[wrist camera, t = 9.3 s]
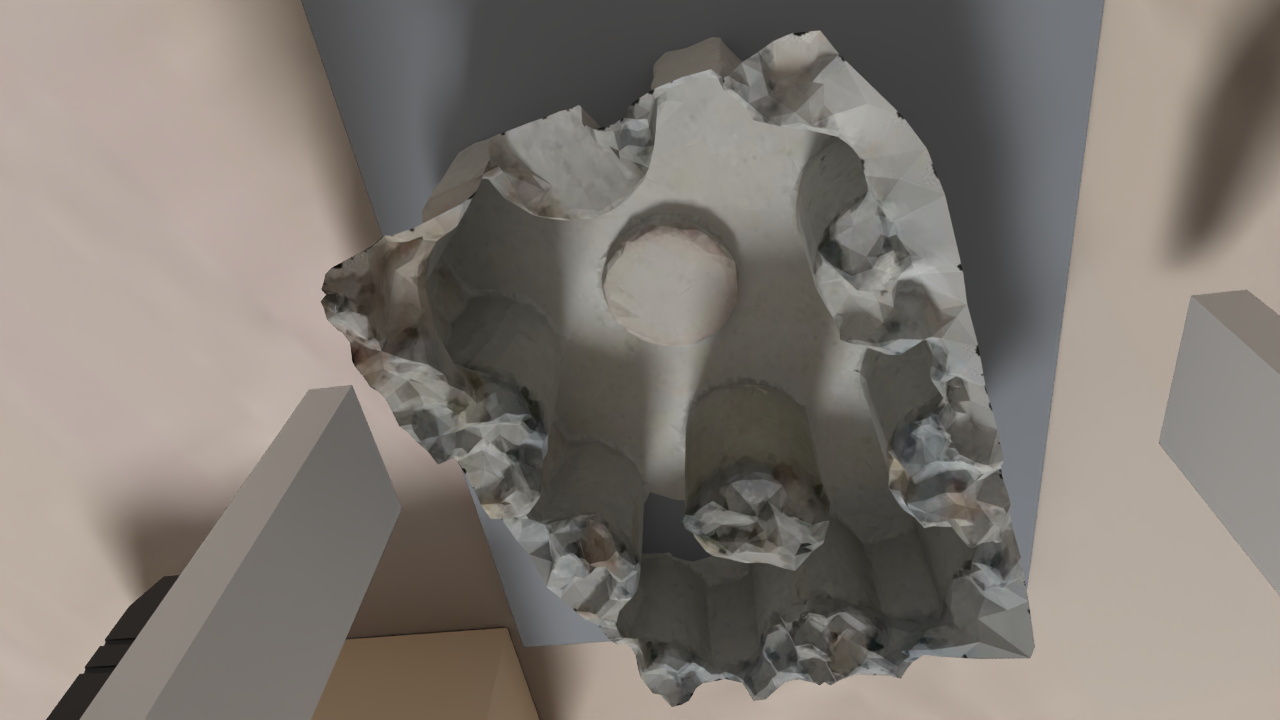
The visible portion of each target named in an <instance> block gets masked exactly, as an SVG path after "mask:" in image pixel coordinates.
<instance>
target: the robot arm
mask: <svg viewBox="0 0 1280 720" xmlns="http://www.w3.org/2000/svg"><path fill="white" fill-rule="evenodd" d="M1159 444H1160V445H1161V447H1162V448H1163V449H1164V450H1165V452H1166V453H1167V454H1168V455H1169V457H1170V458H1171V459H1172V461H1173V462H1174V463H1175V464H1176V466H1177V467H1178V468H1179V469H1180V471H1181V472H1182V473H1183V474H1184V476H1185V477H1186V478H1187V480H1188V481H1189V482H1190V483H1191V485H1192V486H1193V487H1194V488H1195V490H1196V491H1197V492H1198V493H1199V495H1200V496H1201V497H1202V499H1203V500H1204V501H1205V502H1206V504H1207V505H1208V506H1209V507H1210V509H1211V510H1212V511H1213V512H1214V514H1215V515H1216V516H1217V518H1218V519H1219V520H1220V521H1221V523H1222V524H1223V525H1224V526H1225V528H1226V529H1227V530H1228V531H1229V533H1230V534H1231V535H1232V537H1233V538H1234V539H1235V540H1236V542H1237V543H1238V544H1239V545H1240V547H1241V548H1242V549H1243V550H1244V552H1245V553H1246V554H1247V555H1248V557H1249V558H1250V559H1251V561H1252V562H1253V563H1254V564H1255V566H1256V567H1257V568H1258V569H1259V571H1260V572H1261V573H1262V574H1263V576H1264V577H1265V578H1266V580H1267V581H1268V582H1269V583H1270V585H1271V586H1272V587H1273V588H1274V590H1275V591H1276V592H1277V593H1278V595H1279V596H1280V316H1279V315H1278V314H1277V313H1276V312H1274V311H1273V310H1272V309H1271V308H1269V307H1268V306H1267V305H1266V304H1264V303H1263V302H1262V301H1261V300H1259V299H1258V298H1257V297H1255V296H1254V295H1253V294H1252V293H1250V292H1249V291H1248V290H1240V291H1230V292H1221V293H1212V294H1202V295H1193V296H1191V298H1190V303H1189V308H1188V312H1187V317H1186V321H1185V326H1184V330H1183V335H1182V339H1181V344H1180V349H1179V353H1178V358H1177V362H1176V367H1175V371H1174V376H1173V380H1172V385H1171V389H1170V394H1169V399H1168V403H1167V408H1166V412H1165V417H1164V421H1163V426H1162V430H1161V435H1160V440H1159ZM401 510H402V507H401V505H400V503H399V500H398V498H397V495H396V493H395V490H394V488H393V485H392V483H391V480H390V478H389V475H388V473H387V470H386V468H385V465H384V463H383V460H382V458H381V456H380V453H379V451H378V448H377V446H376V443H375V441H374V438H373V436H372V433H371V431H370V428H369V426H368V423H367V421H366V418H365V416H364V413H363V411H362V409H361V406H360V404H359V401H358V399H357V396H356V394H355V391H354V389H353V386H352V385H348V386H339V387H329V388H320V389H311V390H308V392H307V393H306V395H305V396H304V398H303V399H302V401H301V402H300V403H299V405H298V406H297V408H296V409H295V411H294V412H293V413H292V415H291V416H290V418H289V419H288V421H287V422H286V424H285V425H284V426H283V428H282V429H281V431H280V432H279V434H278V435H277V436H276V438H275V439H274V441H273V442H272V444H271V445H270V447H269V448H268V449H267V451H266V452H265V454H264V455H263V457H262V458H261V459H260V461H259V462H258V464H257V465H256V467H255V468H254V470H253V471H252V472H251V474H250V475H249V477H248V478H247V480H246V481H245V482H244V484H243V485H242V487H241V488H240V490H239V491H238V493H237V494H236V495H235V497H234V498H233V500H232V501H231V503H230V504H229V505H228V507H227V508H226V510H225V511H224V513H223V514H222V516H221V517H220V518H219V520H218V521H217V523H216V524H215V526H214V527H213V528H212V530H211V531H210V533H209V534H208V536H207V537H206V539H205V540H204V541H203V543H202V544H201V546H200V547H199V549H198V550H197V551H196V553H195V554H194V556H193V557H192V559H191V560H190V562H189V563H188V564H187V566H186V567H185V569H184V570H183V572H182V573H181V574H180V575H178V576H165V577H163V578H162V579H160V580H159V581H158V582H157V583H156V584H155V585H154V586H152V587H151V588H150V589H149V590H148V591H147V592H145V593H144V594H143V595H142V596H141V597H140V598H138V599H137V600H136V601H135V602H134V603H133V604H132V605H130V606H129V607H128V609H127V610H126V612H125V613H124V614H123V616H122V617H121V618H120V620H119V621H118V622H117V624H116V625H115V627H114V628H113V629H112V631H111V632H110V633H109V635H108V636H107V637H106V639H105V641H106V642H105V645H104V646H100V647H99V648H98V650H97V651H96V652H95V654H94V655H93V657H92V658H91V659H90V661H89V662H88V663H87V665H86V666H85V673H84V674H79V676H78V677H77V678H76V680H75V681H74V682H73V684H72V685H71V687H70V688H69V689H68V691H67V692H66V693H65V695H64V696H63V697H62V699H61V700H60V702H59V703H58V704H57V706H56V707H55V708H54V710H53V711H52V712H51V714H50V715H49V716H48V718H47V719H46V720H311V719H312V716H313V714H314V712H315V709H316V707H317V705H318V702H319V700H320V698H321V695H322V693H323V691H324V688H325V686H326V684H327V681H328V679H329V677H330V674H331V672H332V670H333V667H334V665H335V663H336V661H337V658H338V656H339V654H340V651H341V649H342V647H343V644H344V642H345V640H346V637H347V635H348V633H349V630H350V628H351V626H352V623H353V621H354V619H355V616H356V614H357V612H358V609H359V607H360V605H361V602H362V600H363V598H364V596H365V593H366V591H367V589H368V586H369V584H370V582H371V579H372V577H373V575H374V572H375V570H376V568H377V565H378V563H379V561H380V558H381V556H382V554H383V551H384V549H385V547H386V544H387V542H388V540H389V537H390V535H391V533H392V530H393V528H394V526H395V524H396V521H397V519H398V517H399V514H400V512H401Z"/></svg>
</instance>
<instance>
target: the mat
mask: <svg viewBox="0 0 1280 720" xmlns="http://www.w3.org/2000/svg"><path fill="white" fill-rule="evenodd" d="M301 1H302V4H303V7H304V10H305V13H306V16H307V19H308V22H309V25H310V28H311V30H312V33H313V36H314V39H315V42H316V45H317V48H318V51H319V54H320V57H321V60H322V62H323V65H324V68H325V71H326V74H327V77H328V80H329V83H330V86H331V89H332V92H333V94H334V97H335V100H336V103H337V106H338V109H339V112H340V115H341V118H342V121H343V124H344V126H345V129H346V132H347V135H348V138H349V141H350V144H351V147H352V150H353V153H354V156H355V158H356V161H357V164H358V167H359V170H360V173H361V176H362V179H363V182H364V185H365V188H366V190H367V193H368V196H369V199H370V202H371V205H372V208H373V211H374V214H375V217H376V220H377V222H378V225H379V228H380V231H381V234H382V237H384V236H393V235H395V234H398V233H401V232H404V231H406V230H409V229H412V228H415V227H417V226H419V225H421V224H423V220H422V211H423V209H424V207H425V205H426V203H427V201H428V199H429V198H430V197H431V194H432V191H433V190H434V188H435V187H436V186H437V184H438V183H439V182H440V181H441V179H442V178H443V177H444V175H445V173H446V172H447V170H448V169H449V167H450V165H451V164H452V162H453V161H454V159H455V158H456V156H457V155H458V153H459V152H461V151H463V150H464V149H466V148H467V147H469V146H471V145H472V144H474V143H476V142H480V141H483V140H487V139H489V138H491V137H493V136H495V135H497V134H502V133H504V132H507V131H509V130H512V129H514V128H517V127H519V126H522V125H525V124H527V123H530V122H532V121H535V120H538V119H541V118H544V117H547V116H550V115H552V114H554V113H557V112H559V111H563V110H568V109H572V108H574V107H576V106H578V105H580V106H581V107H582V108H583V109H584V110H585V111H586V112H587V113H588V114H589V115H590V116H591V117H592V118H593V119H594V120H595V121H596V122H597V123H598V124H599V125H600V126H601V127H606V126H609V125H613V124H615V123H617V122H618V121H619V120H621V119H622V118H623V117H624V115H625V113H626V111H627V109H628V107H629V106H630V105H631V104H632V103H633V102H634V101H636V100H637V99H639V98H640V97H642V96H644V95H645V94H647V93H648V92H650V91H651V84H652V81H653V79H654V77H653V65H654V64H655V63H656V61H657V60H658V59H659V58H660V57H661V56H662V55H663V54H664V53H665V52H668V51H673V50H679V49H684V48H687V47H690V46H692V45H694V44H697V43H699V42H701V41H704V40H706V39H708V38H710V37H720V38H721V39H722V41H723V42H724V43H725V45H726V46H727V47H728V48H729V49H730V50H731V51H732V52H733V53H734V54H735V55H736V56H737V57H738V58H739V59H740V60H741V61H742V62H743V61H745V60H747V59H748V58H750V57H751V56H753V55H754V54H756V53H758V52H759V51H760V50H762V49H763V48H764V47H766V46H767V45H769V44H770V43H771V42H773V41H775V40H777V39H779V38H782V37H784V36H786V35H789V34H791V33H797V32H809V31H821V32H822V33H823V35H824V36H825V37H826V38H827V40H828V41H829V42H830V43H831V45H832V46H833V47H834V48H835V50H836V51H837V52H838V53H839V55H840V56H841V57H842V58H843V59H844V60H846V61H847V62H848V63H849V64H850V65H851V66H852V67H853V68H854V69H855V70H856V71H857V72H858V73H859V74H860V75H861V76H862V77H863V78H864V79H865V80H866V81H867V82H868V83H869V84H870V85H871V86H872V87H873V88H874V89H875V90H876V91H877V92H878V93H879V94H880V95H881V96H882V97H883V98H884V99H885V100H886V101H888V102H889V103H890V104H891V105H892V106H893V107H894V108H895V109H896V110H897V111H898V112H899V113H900V114H901V115H902V116H903V117H904V119H905V120H906V121H907V123H908V124H909V125H910V127H911V128H912V129H913V131H914V132H915V133H916V135H917V136H918V137H919V139H920V140H921V141H922V143H923V144H924V145H925V147H926V148H927V150H928V153H929V155H930V158H931V160H932V163H933V165H934V168H935V170H936V173H937V176H938V178H939V181H940V183H941V186H942V188H943V191H944V193H945V197H946V201H947V205H948V209H949V214H950V218H951V222H952V227H953V231H954V235H955V240H956V244H957V248H958V253H959V257H960V261H961V265H962V270H963V276H964V284H965V291H966V299H967V305H968V309H969V313H970V316H971V320H972V324H973V328H974V331H975V335H976V339H977V343H978V347H979V352H980V358H981V363H982V369H983V375H984V380H985V386H986V390H987V393H988V397H989V400H990V404H991V407H992V411H993V414H994V418H995V422H996V426H997V430H998V435H999V440H1000V445H1001V449H1002V454H1003V459H1004V462H1003V464H1002V465H1001V471H1002V477H1003V480H1004V483H1005V486H1006V489H1007V492H1008V495H1009V498H1010V503H1011V506H1010V508H1009V512H1010V517H1011V522H1012V526H1013V531H1014V535H1015V538H1016V542H1017V545H1018V549H1019V552H1020V556H1021V560H1022V566H1023V572H1024V578H1025V584H1026V590H1027V585H1028V578H1029V570H1030V563H1031V555H1032V547H1033V540H1034V532H1035V525H1036V517H1037V509H1038V502H1039V494H1040V487H1041V479H1042V471H1043V464H1044V456H1045V448H1046V441H1047V433H1048V426H1049V418H1050V410H1051V403H1052V395H1053V388H1054V380H1055V372H1056V365H1057V357H1058V349H1059V342H1060V334H1061V327H1062V319H1063V311H1064V304H1065V296H1066V289H1067V281H1068V273H1069V266H1070V258H1071V250H1072V243H1073V235H1074V228H1075V220H1076V212H1077V205H1078V197H1079V190H1080V182H1081V174H1082V167H1083V159H1084V152H1085V144H1086V136H1087V129H1088V121H1089V113H1090V106H1091V98H1092V91H1093V83H1094V75H1095V68H1096V60H1097V53H1098V45H1099V37H1100V30H1101V22H1102V14H1103V7H1104V0H301ZM832 137H835V136H832V135H831V138H832ZM463 473H464V472H463ZM464 476H465V478H466V481H467V484H468V487H469V490H470V493H471V496H472V499H473V502H474V505H475V508H476V510H477V513H478V516H479V519H480V522H481V525H482V528H483V531H484V534H485V537H486V540H487V542H488V545H489V548H490V551H491V554H492V557H493V560H494V563H495V566H496V569H497V572H498V574H499V577H500V580H501V583H502V586H503V589H504V592H505V595H506V598H507V601H508V604H509V606H510V609H511V612H512V615H513V618H514V621H515V624H516V627H517V630H518V633H519V636H520V638H521V641H522V644H523V647H536V646H550V645H564V644H579V643H593V642H607V641H611V640H609V639H608V638H607V636H606V635H605V634H604V632H603V631H602V630H601V628H600V627H599V626H598V625H596V624H594V623H592V622H589V621H587V620H586V619H584V618H583V617H582V616H581V615H579V614H578V613H577V612H576V611H574V610H573V609H572V608H571V607H570V606H569V605H568V604H567V603H565V602H564V601H563V600H562V599H561V598H560V597H558V596H557V595H556V594H555V593H553V592H552V591H551V590H550V589H548V588H547V587H546V585H545V583H544V582H543V580H542V578H541V576H540V574H539V572H538V570H537V569H536V567H535V565H534V563H533V561H532V559H531V557H530V556H529V554H528V553H527V552H526V551H525V549H524V548H523V547H522V546H521V545H520V544H519V543H518V542H517V540H516V539H515V537H514V536H513V535H512V533H511V532H510V530H509V529H508V528H507V526H506V525H505V523H504V522H503V521H502V519H490V517H489V516H488V514H487V513H486V512H485V510H484V509H483V507H482V506H481V504H480V502H479V499H478V497H477V495H476V493H475V491H474V489H473V487H472V485H471V484H470V482H469V480H468V479H467V477H466V475H465V473H464ZM684 513H685V500H675V499H671V498H669V497H665V496H662V495H658V494H655V493H652V492H650V493H649V495H648V498H647V500H646V502H645V503H644V513H643V537H642V553H645V554H650V553H670V554H671V555H672V556H673V557H676V558H679V559H683V560H687V561H692V562H694V561H697V560H701V559H704V558H707V557H711V556H713V555H711V554H709V553H708V552H706V551H705V549H704V548H703V547H702V546H701V544H700V543H699V542H698V541H697V540H696V538H695V536H694V534H693V533H692V532H690V531H688V530H687V529H685V526H684V522H681V521H682V520H683V518H684Z"/></svg>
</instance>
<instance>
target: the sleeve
mask: <svg viewBox="0 0 1280 720" xmlns="http://www.w3.org/2000/svg"><path fill="white" fill-rule="evenodd" d="M311 720H539V717H538V714H537V711H536V708H535V705H534V703H533V700H532V697H531V694H530V691H529V688H528V686H527V683H526V680H525V677H524V674H523V671H522V669H521V666H520V663H519V660H518V657H517V654H516V652H515V649H514V646H513V643H512V640H511V637H510V635H509V632H508V629H507V628H497V629H483V630H469V631H456V632H442V633H428V634H415V635H401V636H387V637H373V638H360V639H346V640H345V642H344V644H343V647H342V649H341V651H340V654H339V656H338V658H337V661H336V663H335V665H334V667H333V670H332V672H331V674H330V677H329V679H328V681H327V684H326V686H325V688H324V691H323V693H322V695H321V698H320V700H319V702H318V705H317V707H316V709H315V712H314V714H313V716H312V719H311Z"/></svg>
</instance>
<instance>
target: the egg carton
mask: <svg viewBox="0 0 1280 720" xmlns="http://www.w3.org/2000/svg"><path fill="white" fill-rule="evenodd" d="M653 77H654V79H653V81H652V84H651V91H650V92H648V93H647V94H645V95H644V96H642V97H640V98H639V99H637V100H636V101H634V102H633V103H632V104H631V105H630V106H629V107H628V109H627V111H626V113H625V115H624V117H623V118H622V119H621V120H619V121H618V122H617V123H615V124H613V125H609V126H606V127H601V126H600V125H599V124H598V123H597V122H596V121H595V120H594V119H593V118H592V117H591V116H590V115H589V114H588V113H587V112H586V111H585V110H584V109H583V108H582V107H581V106H580V105H578V106H576V107H574V108H572V109H568V110H563V111H559V112H557V113H554V114H552V115H550V116H547V117H544V118H541V119H538V120H535V121H532V122H530V123H527V124H525V125H522V126H519V127H517V128H514V129H512V130H509V131H507V132H504V133H502V134H497V135H495V136H493V137H491V138H489V139H487V140H483V141H480V142H476V143H474V144H472V145H471V146H469V147H467V148H466V149H464V150H463V151H461V152H459V153H458V155H457V156H456V158H455V159H454V161H453V162H452V164H451V165H450V167H449V169H448V170H447V172H446V173H445V175H444V177H443V178H442V179H441V181H440V182H439V183H438V184H437V186H436V187H435V188H434V190H433V191H432V194H431V197H430V198H429V199H428V201H427V203H426V205H425V207H424V209H423V211H422V220H423V224H421V225H419V226H417V227H415V228H412V229H409V230H406V231H404V232H401V233H398V234H395V235H393V236H384V237H382V238H381V239H380V240H379V241H377V242H376V243H375V244H374V245H372V246H371V247H370V248H368V249H366V250H364V251H362V252H361V253H359V254H357V255H355V256H353V257H351V258H349V259H347V260H346V261H344V262H342V263H340V264H338V265H336V266H334V267H332V268H331V269H330V270H329V271H328V272H327V273H326V274H325V279H324V283H323V286H322V291H323V292H324V293H325V294H326V296H325V297H324V298H323V299H322V301H321V303H322V305H323V307H324V310H325V314H326V317H327V320H328V321H329V322H330V323H331V324H332V325H333V326H334V327H335V328H336V329H337V330H339V331H341V332H343V334H344V335H345V337H346V338H347V339H348V341H349V342H350V345H351V353H352V361H353V363H354V365H355V367H356V368H357V369H358V371H359V372H360V373H361V374H362V375H363V377H364V378H365V380H366V381H367V383H368V384H369V386H370V387H371V388H373V389H375V390H377V391H378V392H379V393H380V394H381V395H382V396H383V397H384V398H385V399H386V400H387V402H388V404H389V406H390V408H391V410H392V412H393V414H394V416H395V418H396V420H397V422H398V424H399V426H400V427H401V428H403V429H404V430H406V431H407V432H409V434H410V435H411V436H412V437H413V438H414V439H415V440H416V442H418V443H419V444H420V445H421V446H422V447H424V448H425V449H426V450H427V451H428V452H429V453H430V455H431V456H432V457H433V459H434V460H435V461H436V463H437V464H440V463H443V462H445V461H447V460H449V459H451V458H453V457H454V458H455V459H456V460H457V461H458V463H459V465H460V466H461V468H462V470H463V472H464V473H465V475H466V477H467V479H468V480H469V482H470V484H471V485H472V487H473V489H474V491H475V493H476V495H477V497H478V499H479V502H480V504H481V506H482V507H483V509H484V510H485V512H486V513H487V514H488V516H489V517H490V519H502V521H503V522H504V523H505V525H506V526H507V528H508V529H509V530H510V532H511V533H512V535H513V536H514V537H515V539H516V540H517V542H518V543H519V544H520V545H521V546H522V547H523V548H524V549H525V551H526V552H527V553H528V554H529V556H530V557H531V559H532V561H533V563H534V565H535V567H536V569H537V570H538V572H539V574H540V576H541V578H542V580H543V582H544V583H545V585H546V587H547V588H548V589H550V590H551V591H552V592H553V593H555V594H556V595H557V596H558V597H560V598H561V599H562V600H563V601H564V602H565V603H567V604H568V605H569V606H570V607H571V608H572V609H573V610H574V611H576V612H577V613H578V614H579V615H581V616H582V617H583V618H584V619H586V620H587V621H589V622H592V623H594V624H596V625H598V626H599V627H600V628H601V630H602V631H603V632H604V634H605V635H606V636H607V638H608V639H609V640H611V641H612V642H614V643H615V644H627V645H629V646H630V647H631V648H632V649H633V651H634V653H635V655H636V659H637V664H638V669H639V673H640V676H641V678H642V680H643V681H644V683H645V684H646V685H647V686H648V688H649V689H650V690H651V691H652V692H653V693H655V694H660V695H661V696H662V697H663V698H664V699H665V700H666V701H667V702H668V703H669V704H670V705H671V706H672V707H673V706H677V705H681V704H683V703H685V702H687V701H689V699H690V698H691V696H692V695H693V693H694V691H695V689H696V688H697V687H698V686H700V685H701V684H702V683H706V682H712V681H717V680H723V679H728V680H733V681H737V682H742V683H743V684H744V686H745V687H746V689H747V690H748V692H749V694H750V696H751V697H752V699H753V701H755V700H763V699H766V698H767V697H768V696H770V695H771V694H772V693H773V692H774V691H775V690H776V689H777V688H779V687H780V686H781V685H782V684H783V683H785V682H787V681H790V680H799V679H800V680H804V681H809V682H813V683H816V684H818V685H821V684H822V683H823V682H825V683H827V684H830V685H832V684H834V683H835V682H837V681H839V680H841V679H844V678H846V677H849V676H852V675H854V674H860V675H886V676H893V677H897V678H901V677H902V676H903V674H904V672H905V671H906V669H907V668H908V667H909V665H910V664H911V663H912V662H913V661H915V660H916V659H918V658H920V657H921V656H923V655H931V656H940V657H956V658H974V659H1004V658H1031V655H1032V653H1033V650H1034V648H1035V645H1034V637H1033V630H1032V623H1031V616H1030V609H1029V602H1028V596H1027V590H1026V584H1025V578H1024V572H1023V566H1022V560H1021V556H1020V552H1019V549H1018V545H1017V542H1016V538H1015V535H1014V531H1013V526H1012V522H1011V517H1010V512H1009V508H1010V506H1011V503H1010V498H1009V495H1008V492H1007V489H1006V486H1005V483H1004V480H1003V477H1002V471H1001V465H1002V464H1003V462H1004V459H1003V454H1002V449H1001V445H1000V440H999V435H998V430H997V426H996V422H995V418H994V414H993V411H992V407H991V404H990V400H989V397H988V393H987V390H986V386H985V380H984V375H983V369H982V363H981V358H980V352H979V347H978V343H977V339H976V335H975V331H974V328H973V324H972V320H971V316H970V313H969V309H968V305H967V299H966V291H965V284H964V276H963V270H962V265H961V261H960V257H959V253H958V248H957V244H956V240H955V235H954V231H953V227H952V222H951V218H950V214H949V209H948V205H947V201H946V197H945V193H944V191H943V188H942V186H941V183H940V181H939V178H938V176H937V173H936V170H935V168H934V165H933V163H932V160H931V158H930V155H929V153H928V150H927V148H926V147H925V145H924V144H923V143H922V141H921V140H920V139H919V137H918V136H917V135H916V133H915V132H914V131H913V129H912V128H911V127H910V125H909V124H908V123H907V121H906V120H905V119H904V117H903V116H902V115H901V114H900V113H899V112H898V111H897V110H896V109H895V108H894V107H893V106H892V105H891V104H890V103H889V102H888V101H886V100H885V99H884V98H883V97H882V96H881V95H880V94H879V93H878V92H877V91H876V90H875V89H874V88H873V87H872V86H871V85H870V84H869V83H868V82H867V81H866V80H865V79H864V78H863V77H862V76H861V75H860V74H859V73H858V72H857V71H856V70H855V69H854V68H853V67H852V66H851V65H850V64H849V63H848V62H847V61H846V60H844V59H843V58H842V57H841V56H840V55H839V53H838V52H837V51H836V50H835V48H834V47H833V46H832V45H831V43H830V42H829V41H828V40H827V38H826V37H825V36H824V35H823V33H822V32H821V31H809V32H797V33H791V34H789V35H786V36H784V37H782V38H779V39H777V40H775V41H773V42H771V43H770V44H769V45H767V46H766V47H764V48H763V49H762V50H760V51H759V52H758V53H756V54H754V55H753V56H751V57H750V58H748V59H747V60H745V61H743V62H742V61H741V60H740V59H739V58H738V57H737V56H736V55H735V54H734V53H733V52H732V51H731V50H730V49H729V48H728V47H727V46H726V45H725V43H724V42H723V41H722V39H721V38H720V37H710V38H708V39H706V40H704V41H701V42H699V43H697V44H694V45H692V46H690V47H687V48H684V49H679V50H673V51H668V52H665V53H664V54H663V55H662V56H661V57H660V58H659V59H658V60H657V61H656V63H655V64H654V65H653ZM831 135H832V136H835V137H832V138H831ZM650 492H652V493H655V494H658V495H662V496H665V497H669V498H671V499H675V500H685V513H684V518H683V520H682V521H681V522H684V526H685V529H687V530H688V531H690V532H692V533H693V534H694V536H695V538H696V540H697V541H698V542H699V543H700V544H701V546H702V547H703V548H704V549H705V551H706V552H708V553H709V554H711V555H713V556H711V557H707V558H704V559H701V560H697V561H694V562H692V561H687V560H683V559H679V558H676V557H673V556H672V555H671V554H670V553H650V554H645V553H642V537H643V513H644V503H645V502H646V500H647V498H648V495H649V493H650Z"/></svg>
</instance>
